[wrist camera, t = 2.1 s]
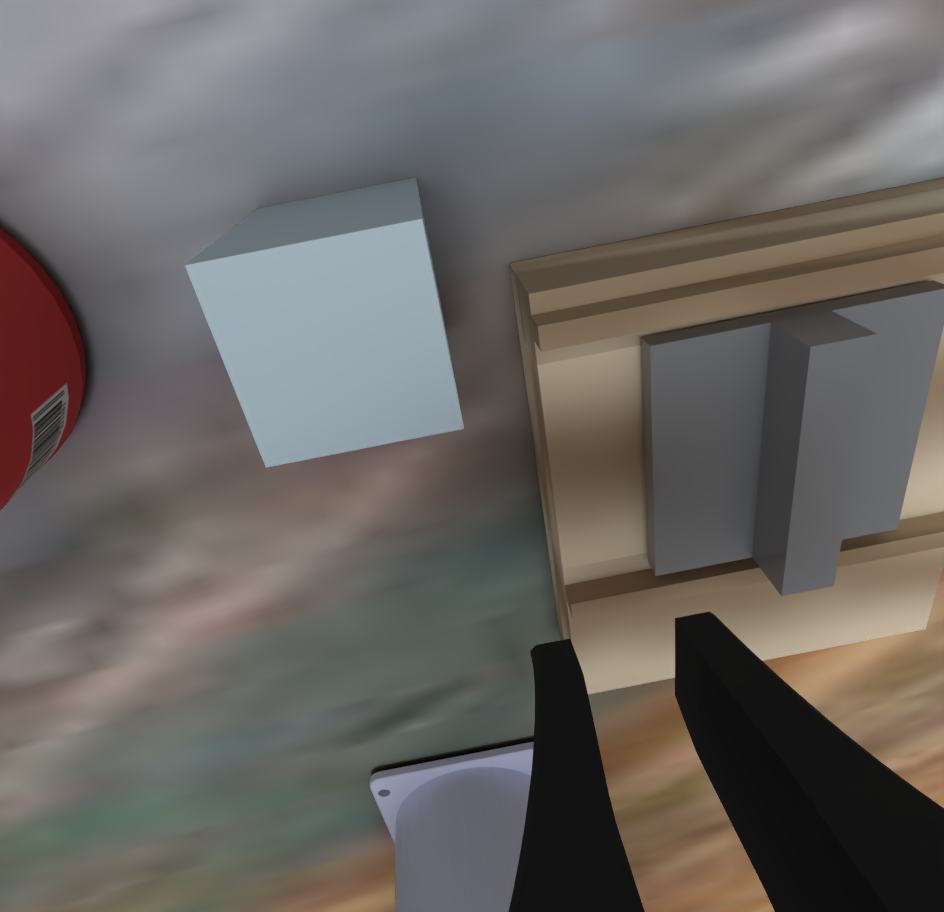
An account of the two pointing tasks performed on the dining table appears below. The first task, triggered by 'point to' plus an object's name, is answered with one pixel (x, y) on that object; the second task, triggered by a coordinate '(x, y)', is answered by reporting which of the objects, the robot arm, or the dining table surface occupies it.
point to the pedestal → (623, 444)
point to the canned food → (34, 368)
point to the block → (331, 323)
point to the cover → (786, 432)
